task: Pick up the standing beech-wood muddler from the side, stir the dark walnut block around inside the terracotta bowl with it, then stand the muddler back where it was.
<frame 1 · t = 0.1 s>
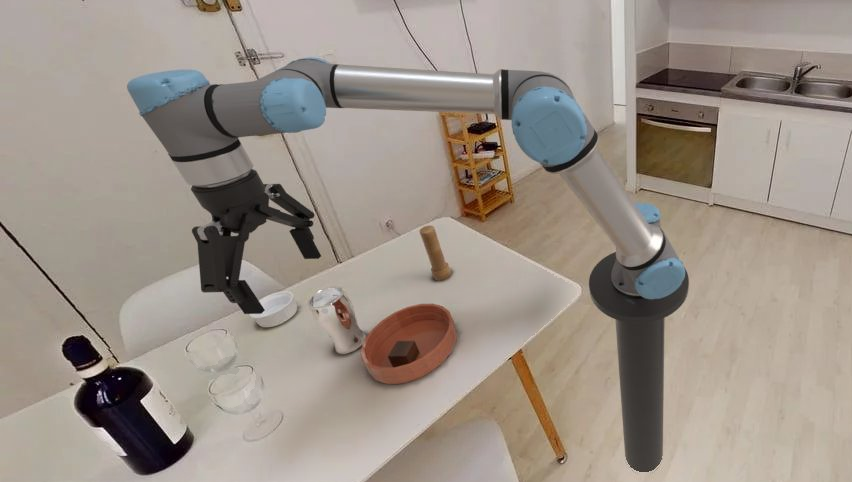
hand: (286, 282, 72), 29 cm above the table, tool pointing down, fingers open, 13 cm apart
bowl: (415, 348, 94), on the table
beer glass: (351, 343, 96), on the table
muddler: (442, 275, 116), on the table
ramekin: (279, 316, 104), on the table
walnut block: (406, 360, 91), point 1 cm above the table, touching bowl
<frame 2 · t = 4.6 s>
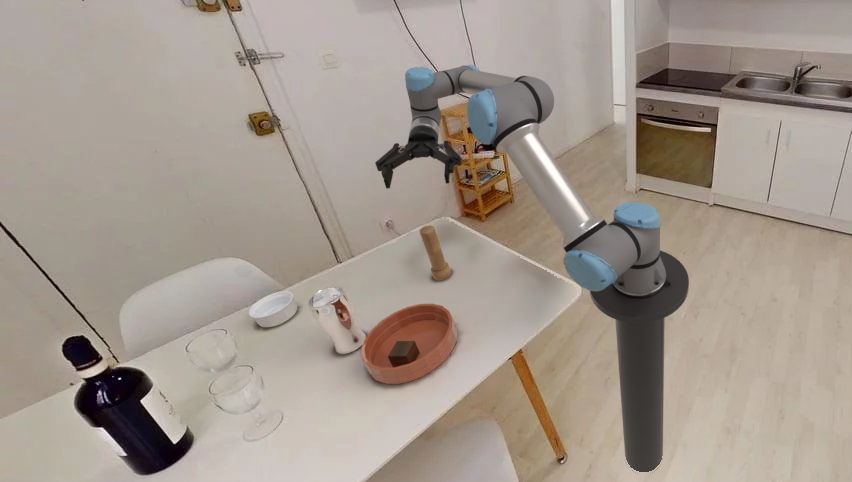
hand: (417, 181, 103), 29 cm above the table, tool horizontal, fingers open, 13 cm apart
nothing on the table moved.
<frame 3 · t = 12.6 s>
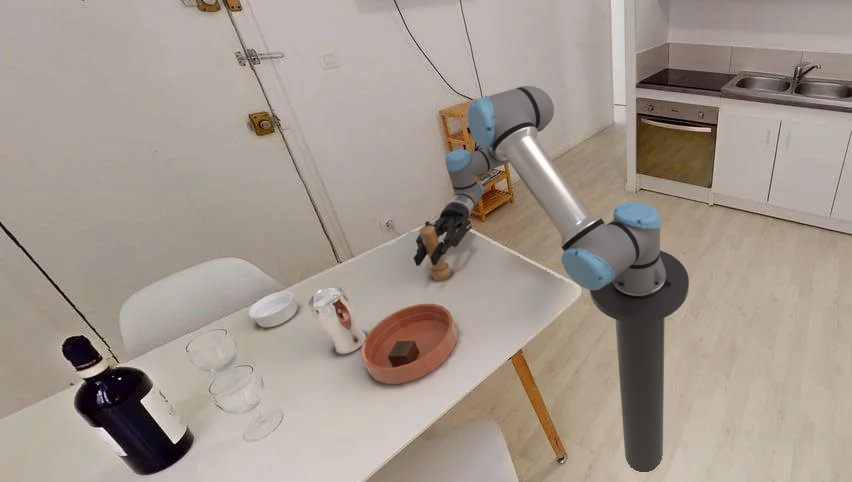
hand: (424, 261, 106), 10 cm above the table, tool horizontal, fingers closed on muddler, 4 cm apart
muddler: (442, 275, 116), on the table, touching gripper
everything else where it was.
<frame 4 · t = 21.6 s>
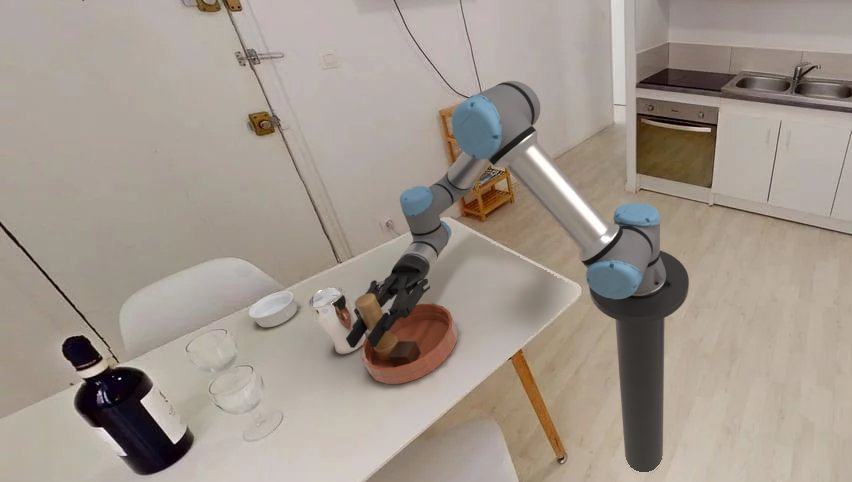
hand: (361, 342, 82), 12 cm above the table, tool horizontal, fingers closed on muddler, 4 cm apart
muddler: (390, 351, 91), point 2 cm above the table, touching gripper
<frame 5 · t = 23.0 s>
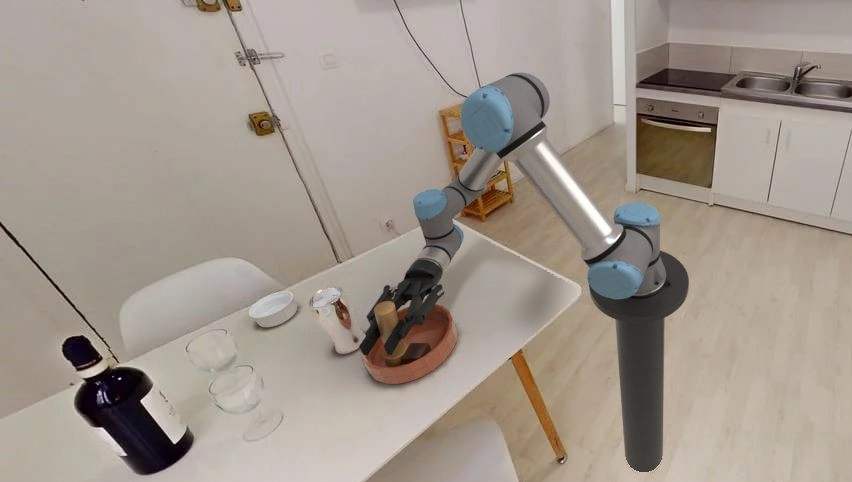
hand: (375, 350, 80), 12 cm above the table, tool horizontal, fingers closed on muddler, 4 cm apart
muddler: (397, 358, 90), point 2 cm above the table, tilted 9°, touching gripper, walnut block
walnut block: (420, 362, 90), point 1 cm above the table, touching bowl, muddler
everything else where it was.
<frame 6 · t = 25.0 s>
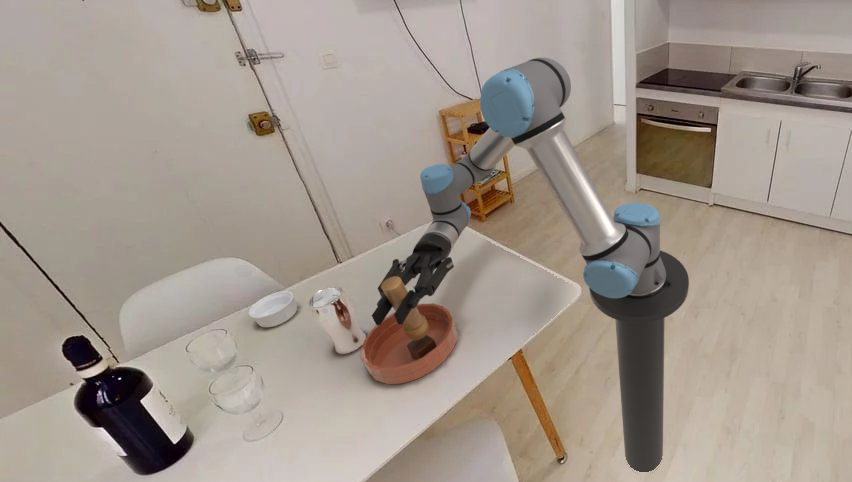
hand: (387, 319, 79), 18 cm above the table, tool horizontal, fingers closed on muddler, 4 cm apart
muddler: (418, 331, 90), point 7 cm above the table, tilted 6°, touching gripper
walnut block: (425, 354, 92), point 1 cm above the table, touching bowl
everything else where it was.
when the fingers open (11 cm above the table, at t = 30.6 s): muddler stays where it is, on the table.
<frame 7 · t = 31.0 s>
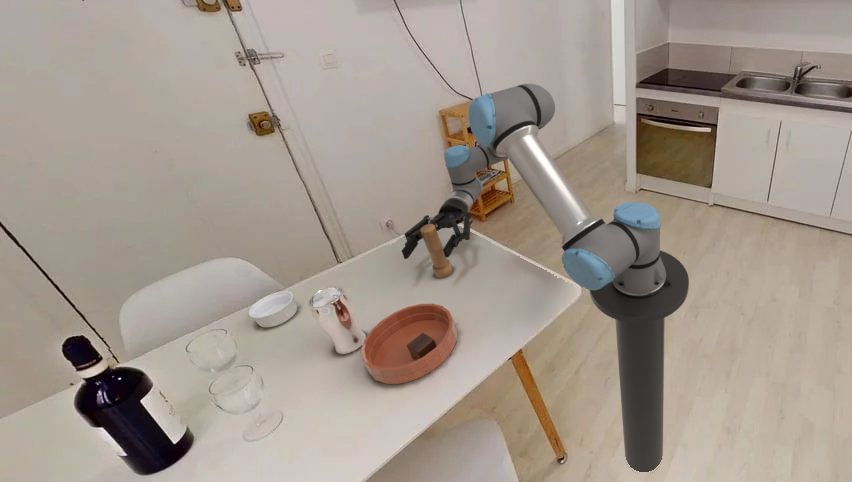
hand: (425, 254, 107), 11 cm above the table, tool horizontal, fingers open, 10 cm apart
muddler: (443, 272, 117), on the table
everything else where it was.
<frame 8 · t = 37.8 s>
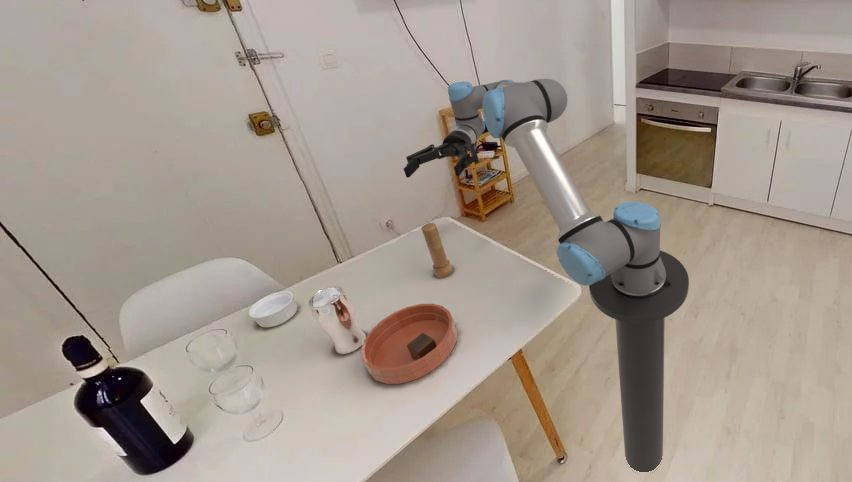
hand: (431, 172, 111), 28 cm above the table, tool horizontal, fingers open, 13 cm apart
nothing on the table moved.
at the end: walnut block moved 3.8 cm from its start; walnut block inside the target area in the bowl (4.0 cm from its centre), point 0.6 cm above the bowl's base; muddler tilted 0° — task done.
